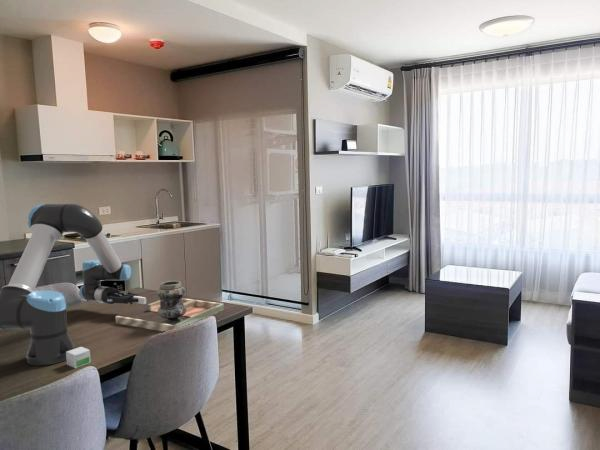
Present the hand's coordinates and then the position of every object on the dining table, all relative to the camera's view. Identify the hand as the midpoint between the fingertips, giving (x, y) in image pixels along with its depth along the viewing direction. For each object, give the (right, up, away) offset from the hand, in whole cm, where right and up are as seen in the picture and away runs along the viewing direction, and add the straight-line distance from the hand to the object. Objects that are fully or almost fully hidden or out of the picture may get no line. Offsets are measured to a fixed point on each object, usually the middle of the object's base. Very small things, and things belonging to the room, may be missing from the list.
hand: (145, 300), depth 206 cm
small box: (-7, -14, -47) cm, 50 cm away
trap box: (+11, -8, +3) cm, 14 cm away
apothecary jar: (+14, -9, -7) cm, 18 cm away
